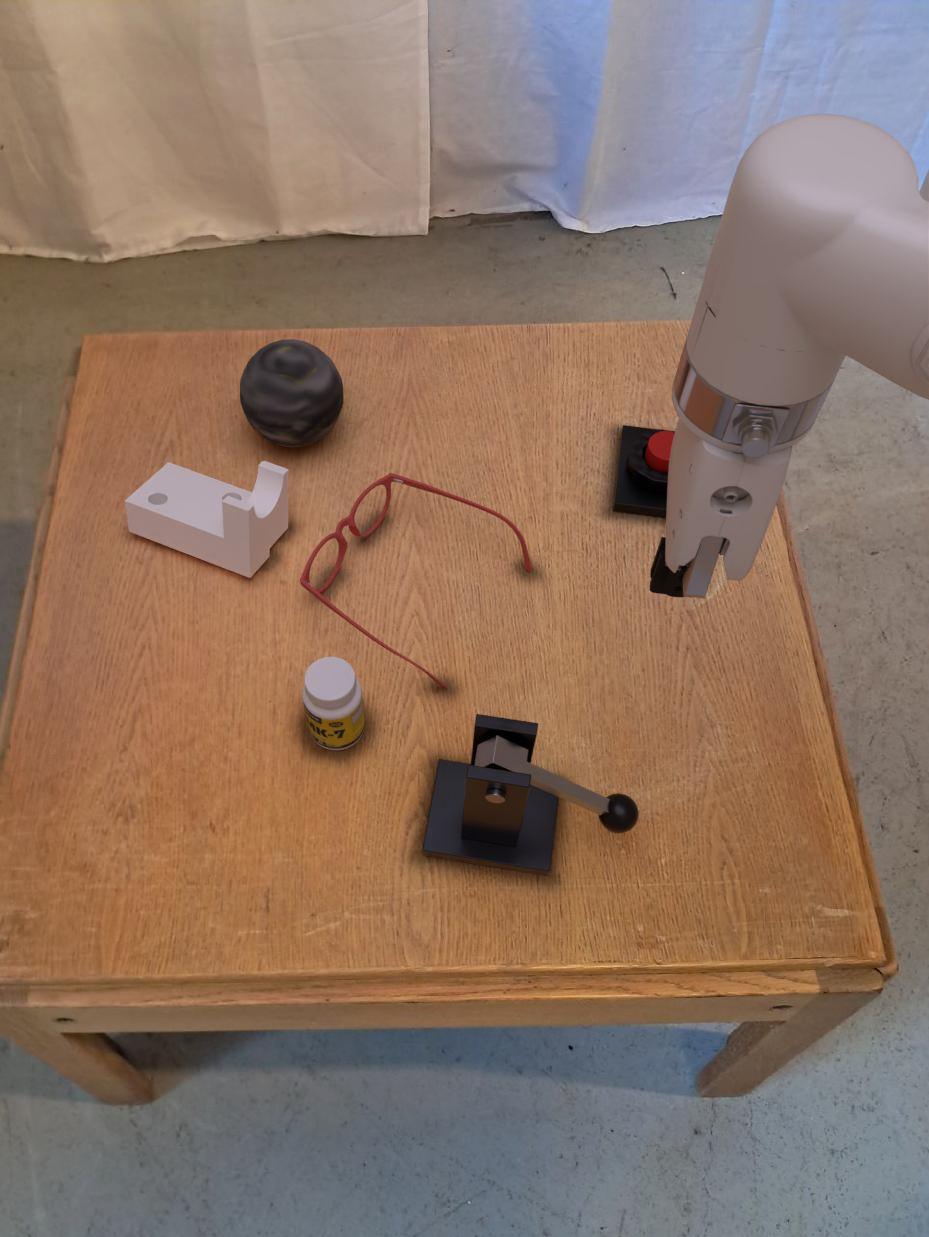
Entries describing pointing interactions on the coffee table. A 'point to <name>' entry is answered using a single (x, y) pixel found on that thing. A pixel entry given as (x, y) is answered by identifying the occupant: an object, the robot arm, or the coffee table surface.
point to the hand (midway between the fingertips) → (673, 585)
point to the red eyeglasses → (354, 530)
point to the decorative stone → (291, 393)
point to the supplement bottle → (333, 703)
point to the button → (659, 450)
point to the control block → (639, 476)
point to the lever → (559, 784)
